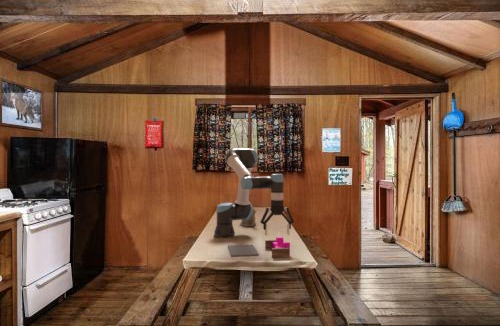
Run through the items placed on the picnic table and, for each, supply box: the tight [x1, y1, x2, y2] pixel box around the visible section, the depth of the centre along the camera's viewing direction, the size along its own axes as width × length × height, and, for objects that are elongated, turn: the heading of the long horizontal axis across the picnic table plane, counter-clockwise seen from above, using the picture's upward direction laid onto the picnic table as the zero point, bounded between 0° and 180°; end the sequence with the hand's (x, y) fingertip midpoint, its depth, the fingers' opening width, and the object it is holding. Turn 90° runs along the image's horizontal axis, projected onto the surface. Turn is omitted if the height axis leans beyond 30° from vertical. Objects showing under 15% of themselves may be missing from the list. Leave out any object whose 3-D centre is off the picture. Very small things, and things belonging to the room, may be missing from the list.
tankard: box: [239, 207, 257, 227], centre depth 276 cm, size 20×13×15 cm, turn 25°
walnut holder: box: [264, 239, 291, 259], centre depth 197 cm, size 21×10×5 cm, turn 9°
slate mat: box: [227, 244, 260, 258], centre depth 200 cm, size 22×16×1 cm
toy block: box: [272, 236, 291, 249], centre depth 198 cm, size 15×6×8 cm, turn 13°
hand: (277, 234), depth 197 cm, fingers open, 13 cm apart
